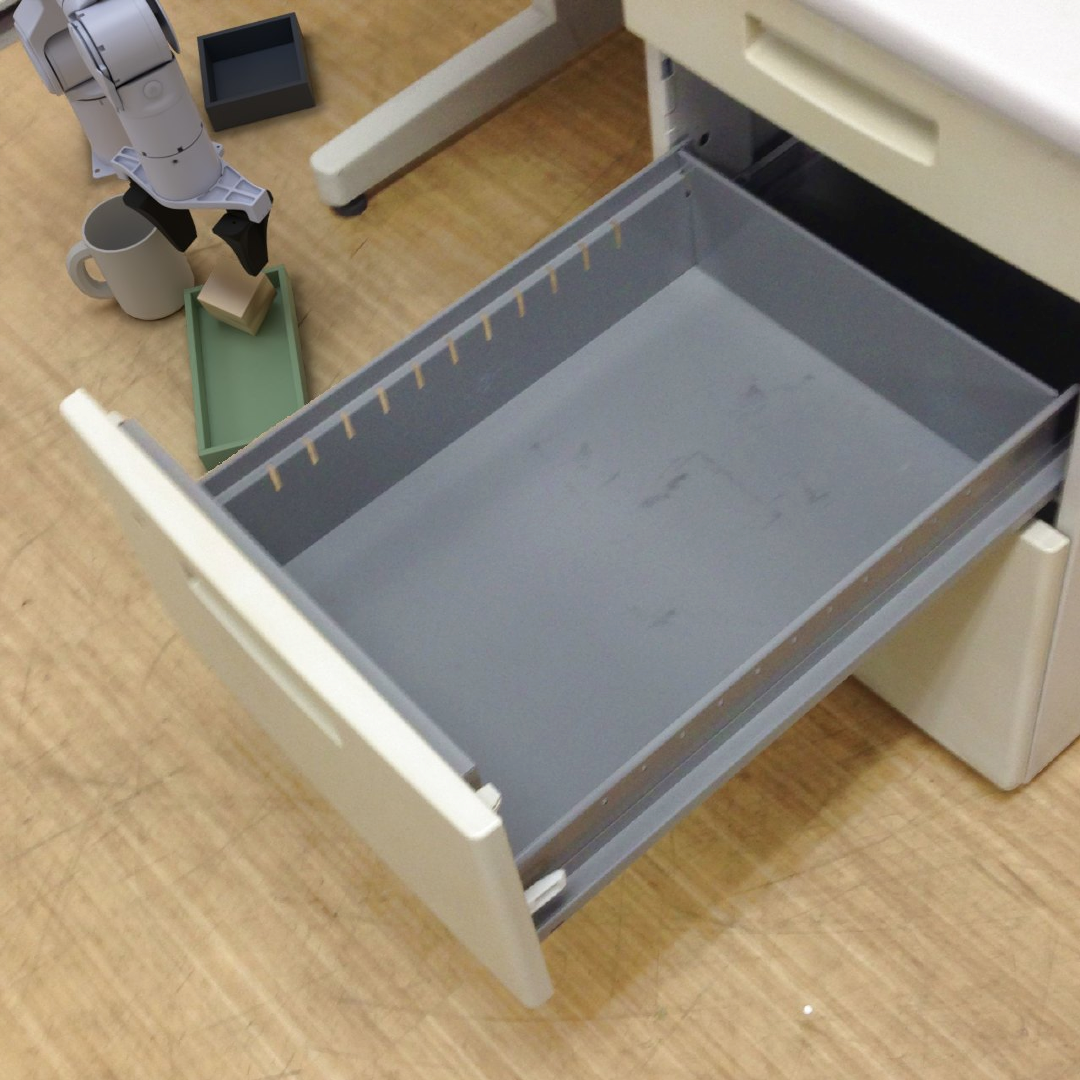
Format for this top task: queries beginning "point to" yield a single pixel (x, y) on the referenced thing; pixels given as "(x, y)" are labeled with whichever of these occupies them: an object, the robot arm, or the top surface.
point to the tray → (243, 372)
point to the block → (237, 295)
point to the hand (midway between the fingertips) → (223, 255)
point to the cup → (129, 262)
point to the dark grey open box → (255, 72)
